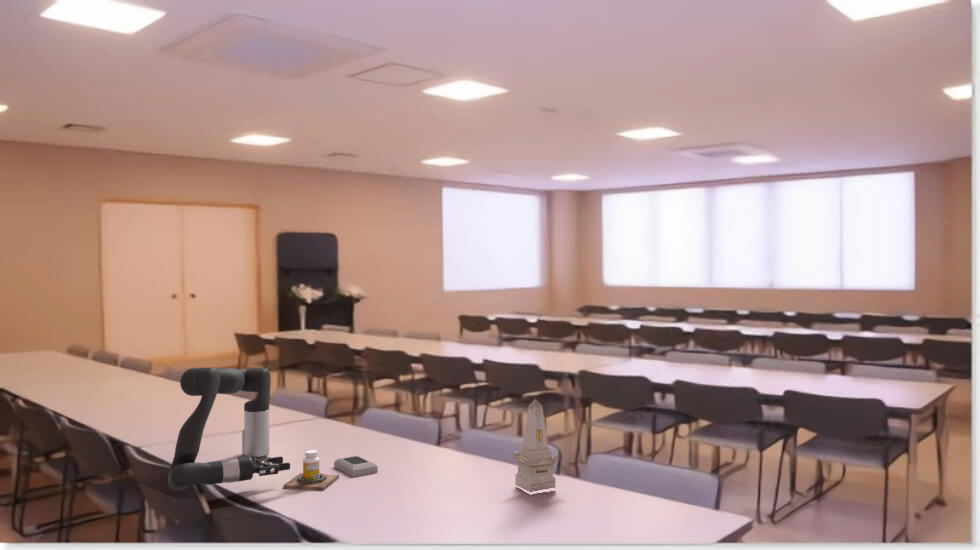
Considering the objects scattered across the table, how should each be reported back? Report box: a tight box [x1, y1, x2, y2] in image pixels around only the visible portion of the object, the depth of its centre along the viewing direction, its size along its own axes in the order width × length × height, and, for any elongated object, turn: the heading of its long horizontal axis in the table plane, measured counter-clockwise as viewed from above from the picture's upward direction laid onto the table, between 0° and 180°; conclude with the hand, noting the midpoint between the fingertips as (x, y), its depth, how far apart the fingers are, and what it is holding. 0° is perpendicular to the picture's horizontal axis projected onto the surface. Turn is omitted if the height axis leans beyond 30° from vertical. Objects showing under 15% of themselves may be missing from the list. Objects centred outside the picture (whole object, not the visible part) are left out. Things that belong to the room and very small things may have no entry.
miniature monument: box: [513, 398, 558, 492], centre depth 249 cm, size 10×10×30 cm
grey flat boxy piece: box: [333, 455, 379, 478], centre depth 272 cm, size 10×4×15 cm
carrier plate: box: [282, 472, 340, 491], centre depth 256 cm, size 14×14×2 cm
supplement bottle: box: [302, 449, 321, 480], centre depth 255 cm, size 5×5×10 cm
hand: (286, 462), depth 251 cm, fingers open, 8 cm apart
